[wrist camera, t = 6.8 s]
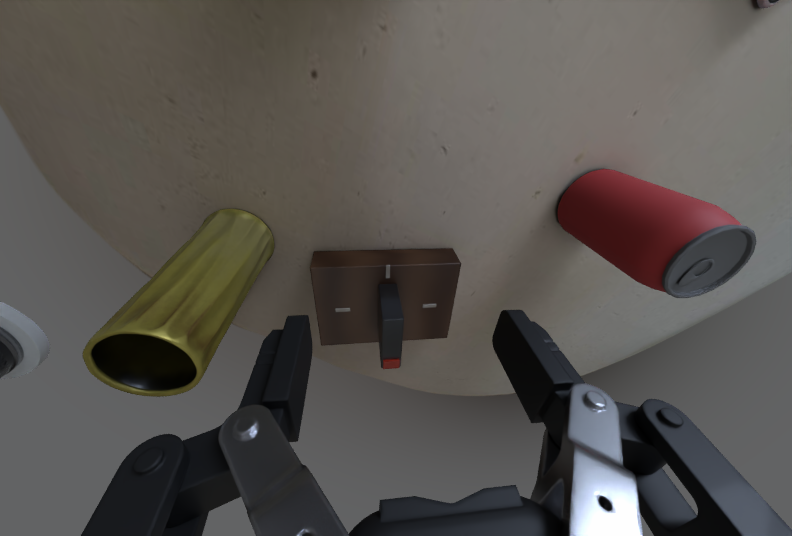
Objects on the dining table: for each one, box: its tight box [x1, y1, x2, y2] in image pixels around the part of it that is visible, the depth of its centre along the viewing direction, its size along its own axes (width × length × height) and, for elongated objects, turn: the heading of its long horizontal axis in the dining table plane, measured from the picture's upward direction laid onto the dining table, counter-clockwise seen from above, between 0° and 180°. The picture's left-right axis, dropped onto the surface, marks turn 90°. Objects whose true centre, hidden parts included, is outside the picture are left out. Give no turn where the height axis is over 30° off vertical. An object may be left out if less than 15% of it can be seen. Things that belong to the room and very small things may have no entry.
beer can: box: [557, 169, 756, 298], centre depth 24 cm, size 7×7×12 cm
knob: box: [378, 284, 404, 369], centre depth 27 cm, size 6×2×5 cm, turn 178°
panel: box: [310, 248, 461, 345], centre depth 30 cm, size 14×10×3 cm
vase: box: [83, 209, 274, 397], centre depth 21 cm, size 6×6×14 cm
